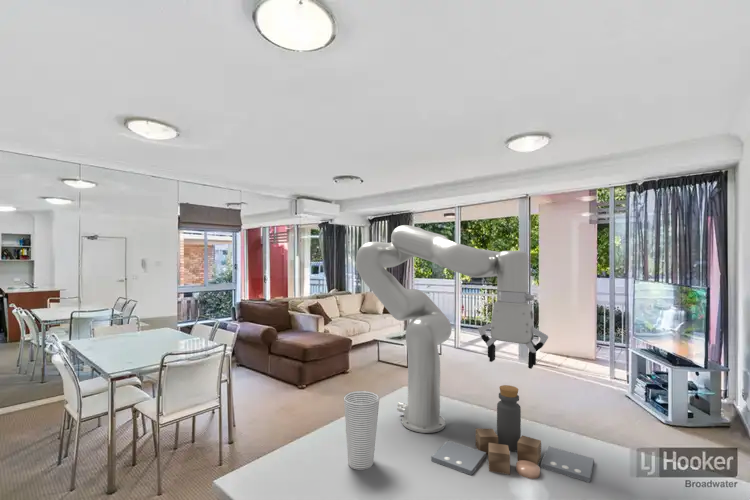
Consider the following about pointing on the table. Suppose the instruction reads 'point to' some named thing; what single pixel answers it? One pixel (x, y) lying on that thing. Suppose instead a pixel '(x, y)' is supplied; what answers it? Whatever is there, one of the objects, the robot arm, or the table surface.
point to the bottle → (508, 417)
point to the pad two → (459, 457)
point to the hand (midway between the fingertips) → (511, 363)
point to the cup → (361, 427)
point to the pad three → (568, 463)
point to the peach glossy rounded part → (528, 469)
